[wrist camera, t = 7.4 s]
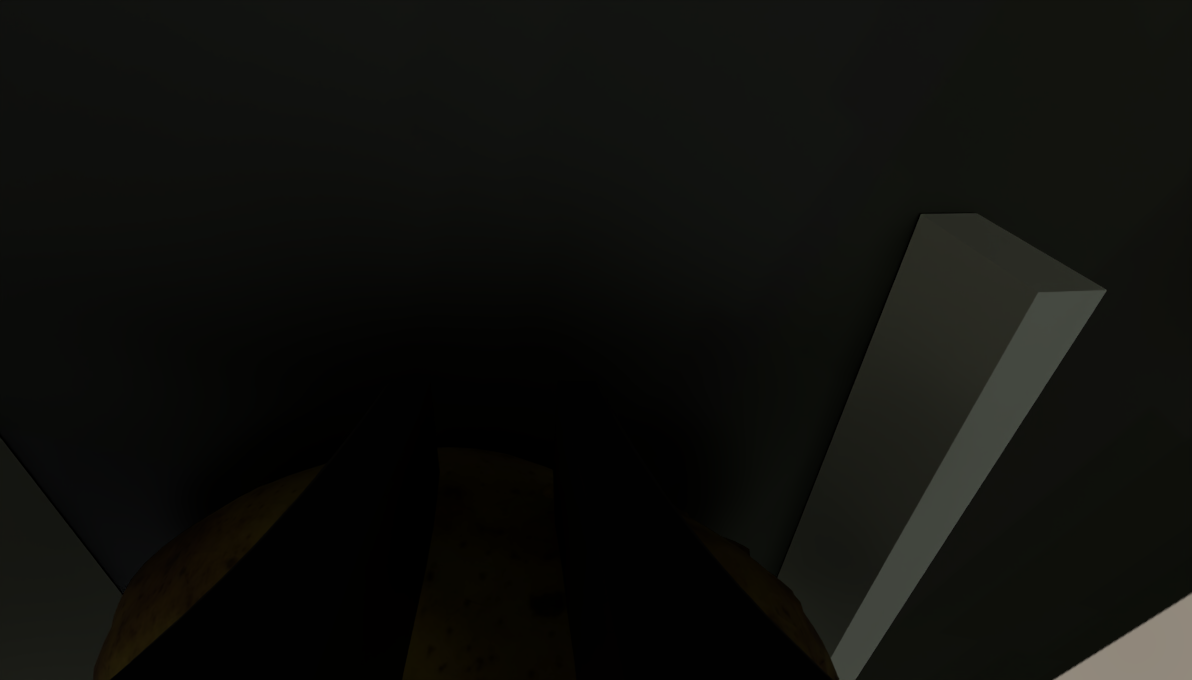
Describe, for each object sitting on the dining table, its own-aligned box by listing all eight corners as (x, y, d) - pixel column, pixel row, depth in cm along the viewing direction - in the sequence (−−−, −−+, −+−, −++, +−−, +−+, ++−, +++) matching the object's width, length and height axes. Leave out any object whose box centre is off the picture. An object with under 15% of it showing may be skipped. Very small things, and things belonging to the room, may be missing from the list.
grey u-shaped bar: (139, 680, 17) (78, 807, 14) (-258, 228, 8) (-559, 346, 6) (797, 607, 19) (839, 703, 17) (976, 213, 11) (1107, 290, 9)
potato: (70, 338, 8) (-512, 1516, 3) (787, 393, 13) (1011, 850, 8) (157, 564, 13) (8, 1100, 9) (636, 539, 19) (715, 862, 14)
